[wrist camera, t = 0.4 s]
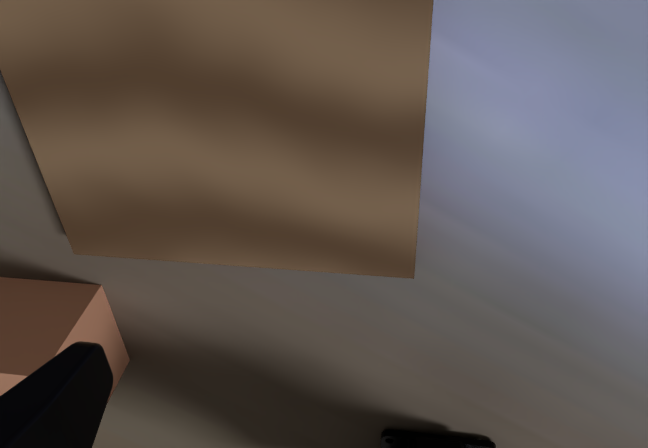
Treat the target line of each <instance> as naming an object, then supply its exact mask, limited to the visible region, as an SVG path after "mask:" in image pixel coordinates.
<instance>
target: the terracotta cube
mask: <svg viewBox="0 0 648 448" xmlns="http://www.w3.org/2000/svg"><path fill="white" fill-rule="evenodd" d="M79 341H83V342H92V343H98V344H100V345H101V346H102V347H103V349H104V351H105V354H106V357H107V359H108V362H109V365H110V367H111V370H112V373H113V386H112V390H111V393H110V396H109V399H110V397H111V395H112V393H113V391H114V389H115V388H116V386H117V384H118V382H119V380H120V378H121V376H122V374H123V372H124V370H125V369H126V367H127V365H128V363H129V361H130V359H129V356H128V353H127V351H126V348H125V346H124V343H123V340H122V338H121V335H120V332H119V330H118V327H117V324H116V322H115V319H114V317H113V314H112V311H111V309H110V306H109V303H108V301H107V298H106V295H105V293H104V290H103V288H102V285H95V284H82V283H70V282H57V281H45V280H32V279H20V278H7V277H0V396H1V395H3V394H4V393H5V392H7V391H8V390H9V389H11V388H12V387H14V386H15V385H16V384H18V383H19V382H20V381H22V380H23V379H24V378H26V377H27V376H29V375H30V374H31V373H33V372H34V371H35V370H37V369H38V368H40V367H41V366H42V365H44V364H45V363H46V362H48V361H49V360H51V359H52V358H53V357H55V356H56V355H57V354H59V353H60V352H62V351H63V350H64V349H66V348H67V347H68V346H70V345H71V344H73V343H75V342H79ZM109 399H108V401H109ZM107 403H108V402H107Z"/></svg>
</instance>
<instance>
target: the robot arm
mask: <svg viewBox="0 0 648 448" xmlns="http://www.w3.org/2000/svg"><path fill="white" fill-rule="evenodd" d="M112 386H113V373H112V370H111V367H110V365H109V362H108V359H107V357H106V354H105V351H104V349H103V347H102V346H101V345H100V344H98V343H92V342H83V341H79V342H75V343H73V344H71V345H70V346H68V347H67V348H66V349H64V350H63V351H62V352H60V353H59V354H57V355H56V356H55V357H53V358H52V359H51V360H49V361H48V362H46V363H45V364H44V365H42V366H41V367H40V368H38V369H37V370H35V371H34V372H33V373H31V374H30V375H29V376H27V377H26V378H24V379H23V380H22V381H20V382H19V383H18V384H16V385H15V386H14V387H12V388H11V389H9V390H8V391H7V392H5V393H4V394H3V395H1V396H0V448H92V446H93V443H94V440H95V437H96V434H97V431H98V428H99V425H100V422H101V419H102V416H103V413H104V411H105V408H106V405H107V402H108V399H109V396H110V393H111V390H112ZM381 448H496V446H495V444H494V443H493V442H491V441H486V440H477V439H468V438H459V437H450V436H441V435H432V434H423V433H414V432H405V431H396V430H385V431H383V432H382V434H381Z"/></svg>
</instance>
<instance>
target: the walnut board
mask: <svg viewBox="0 0 648 448" xmlns="http://www.w3.org/2000/svg"><path fill="white" fill-rule="evenodd" d="M432 11H433V0H0V70H1V73H2V75H3V78H4V80H5V83H6V85H7V88H8V90H9V93H10V95H11V98H12V100H13V103H14V105H15V108H16V110H17V113H18V115H19V118H20V120H21V123H22V125H23V128H24V130H25V133H26V135H27V138H28V140H29V143H30V145H31V148H32V150H33V153H34V155H35V158H36V160H37V163H38V165H39V168H40V170H41V173H42V175H43V178H44V180H45V183H46V185H47V188H48V190H49V193H50V195H51V198H52V200H53V203H54V205H55V208H56V210H57V213H58V215H59V218H60V220H61V223H62V225H63V228H64V230H65V233H66V235H67V238H68V240H69V243H70V245H71V248H72V250H73V253H74V254H79V255H92V256H106V257H120V258H134V259H148V260H162V261H176V262H190V263H204V264H218V265H232V266H246V267H260V268H274V269H288V270H301V271H315V272H329V273H343V274H357V275H371V276H385V277H399V278H413V279H414V272H415V257H416V243H417V228H418V214H419V199H420V185H421V170H422V156H423V142H424V127H425V113H426V98H427V84H428V69H429V55H430V40H431V26H432Z"/></svg>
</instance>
